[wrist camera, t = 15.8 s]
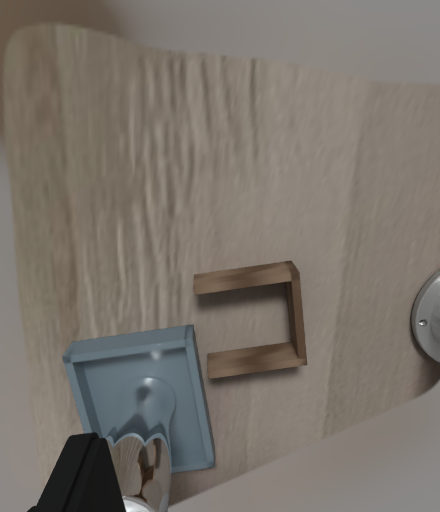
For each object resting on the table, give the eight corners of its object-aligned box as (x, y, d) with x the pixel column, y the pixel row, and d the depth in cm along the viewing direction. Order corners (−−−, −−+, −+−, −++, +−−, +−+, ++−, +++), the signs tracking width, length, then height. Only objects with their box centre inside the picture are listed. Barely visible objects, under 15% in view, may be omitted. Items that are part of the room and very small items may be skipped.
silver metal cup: (119, 428, 44) (76, 569, 29) (112, 374, 42) (63, 496, 27) (181, 425, 44) (169, 564, 29) (177, 371, 42) (162, 491, 27)
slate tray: (193, 324, 41) (192, 338, 38) (214, 446, 46) (215, 467, 43) (72, 341, 41) (62, 356, 38) (105, 461, 46) (99, 483, 43)
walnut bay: (291, 260, 39) (299, 271, 36) (299, 347, 42) (307, 364, 39) (194, 274, 40) (193, 287, 36) (208, 360, 42) (208, 378, 39)
